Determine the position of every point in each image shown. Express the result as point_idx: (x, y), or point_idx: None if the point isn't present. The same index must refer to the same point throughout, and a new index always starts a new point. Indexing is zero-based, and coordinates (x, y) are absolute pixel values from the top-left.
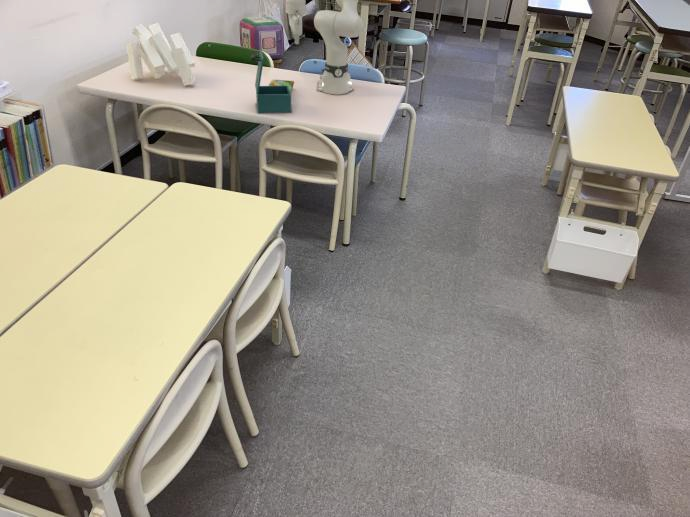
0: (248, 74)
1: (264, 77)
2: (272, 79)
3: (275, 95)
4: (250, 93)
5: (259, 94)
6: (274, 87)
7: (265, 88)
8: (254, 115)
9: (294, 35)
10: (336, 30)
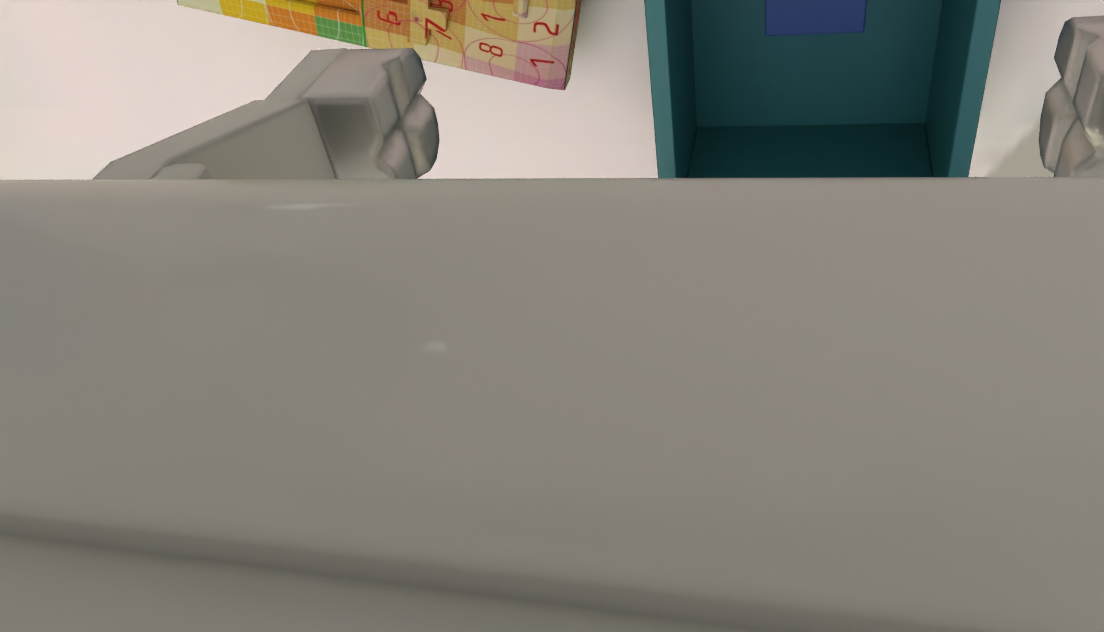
0: (17, 163)
1: (15, 40)
2: (181, 2)
3: (990, 45)
4: (438, 168)
5: (688, 156)
6: (670, 40)
7: (676, 131)
8: (989, 162)
9: (388, 142)
10: None
